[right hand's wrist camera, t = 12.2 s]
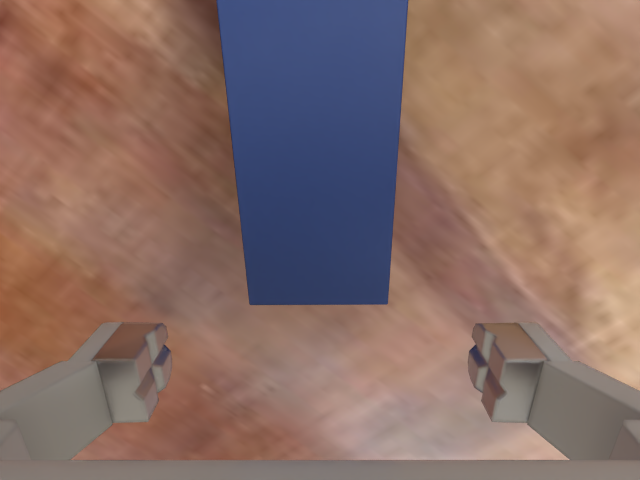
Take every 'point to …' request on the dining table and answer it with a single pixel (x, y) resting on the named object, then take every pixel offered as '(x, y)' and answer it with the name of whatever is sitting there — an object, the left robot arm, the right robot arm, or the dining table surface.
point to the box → (315, 144)
